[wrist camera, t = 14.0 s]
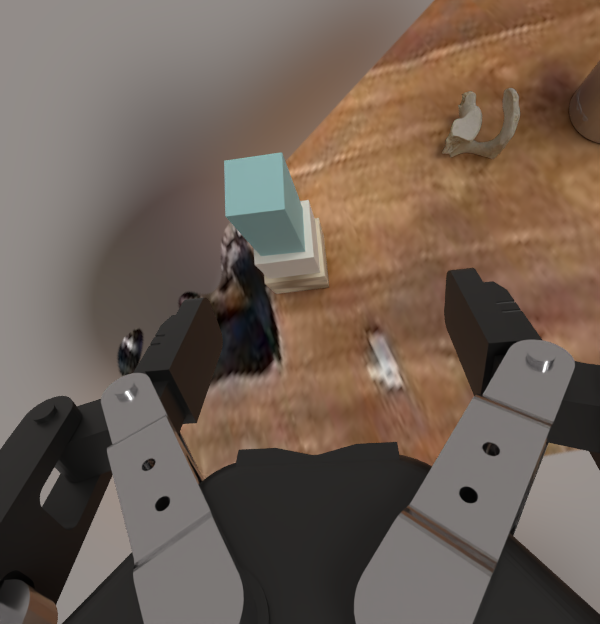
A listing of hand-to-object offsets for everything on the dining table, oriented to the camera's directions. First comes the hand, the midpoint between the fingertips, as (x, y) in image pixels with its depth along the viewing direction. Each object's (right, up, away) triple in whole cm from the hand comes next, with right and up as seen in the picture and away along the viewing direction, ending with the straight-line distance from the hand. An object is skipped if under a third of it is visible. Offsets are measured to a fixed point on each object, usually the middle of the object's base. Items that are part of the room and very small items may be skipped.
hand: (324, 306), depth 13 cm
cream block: (-2, +7, +31) cm, 32 cm away
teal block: (-3, +8, +25) cm, 26 cm away
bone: (+20, +21, +36) cm, 46 cm away
